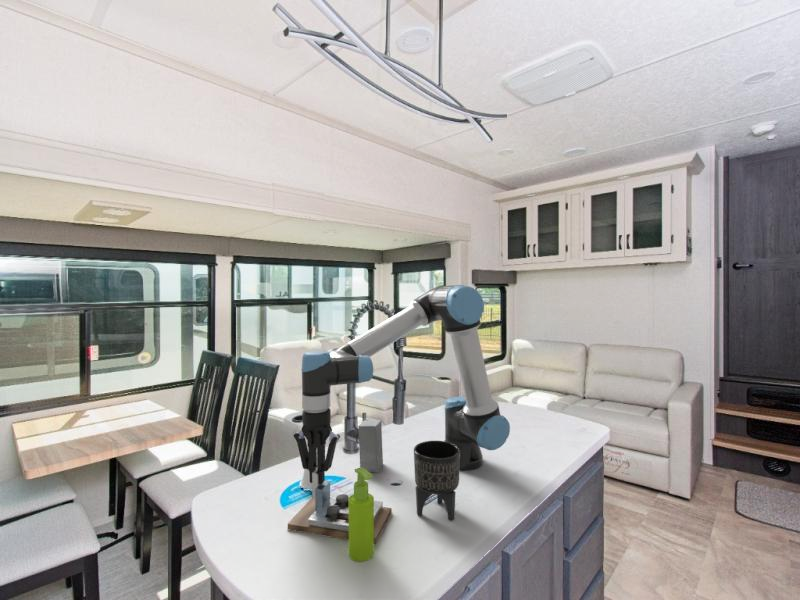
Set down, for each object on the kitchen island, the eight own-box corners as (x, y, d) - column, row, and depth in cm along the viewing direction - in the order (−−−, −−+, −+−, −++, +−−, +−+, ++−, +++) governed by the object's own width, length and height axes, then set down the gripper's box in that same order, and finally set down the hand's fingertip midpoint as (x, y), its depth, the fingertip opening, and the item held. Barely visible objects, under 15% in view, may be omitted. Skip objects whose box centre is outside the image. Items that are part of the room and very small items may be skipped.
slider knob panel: (382, 506, 111) (382, 480, 111) (367, 534, 99) (367, 504, 98) (329, 499, 115) (329, 473, 115) (308, 524, 103) (308, 496, 102)
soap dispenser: (359, 567, 89) (358, 479, 89) (344, 551, 95) (343, 468, 94) (381, 557, 93) (380, 472, 92) (365, 542, 98) (365, 461, 98)
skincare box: (377, 473, 135) (377, 427, 135) (357, 471, 137) (357, 425, 136) (383, 462, 143) (383, 419, 143) (364, 461, 145) (364, 417, 144)
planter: (469, 512, 112) (469, 449, 111) (439, 531, 103) (439, 463, 102) (434, 495, 121) (434, 436, 121) (404, 511, 112) (404, 448, 112)
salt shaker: (315, 492, 122) (315, 460, 122) (294, 488, 125) (294, 456, 125) (328, 481, 129) (328, 451, 129) (308, 477, 132) (308, 447, 132)
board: (391, 513, 111) (391, 496, 111) (375, 544, 98) (375, 525, 97) (312, 501, 117) (312, 485, 117) (287, 529, 104) (287, 511, 104)
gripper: (344, 406, 110) (344, 490, 111) (301, 403, 114) (302, 485, 114) (332, 414, 103) (333, 505, 104) (287, 410, 107) (288, 498, 107)
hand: (317, 494), depth 109 cm, fingers closed
